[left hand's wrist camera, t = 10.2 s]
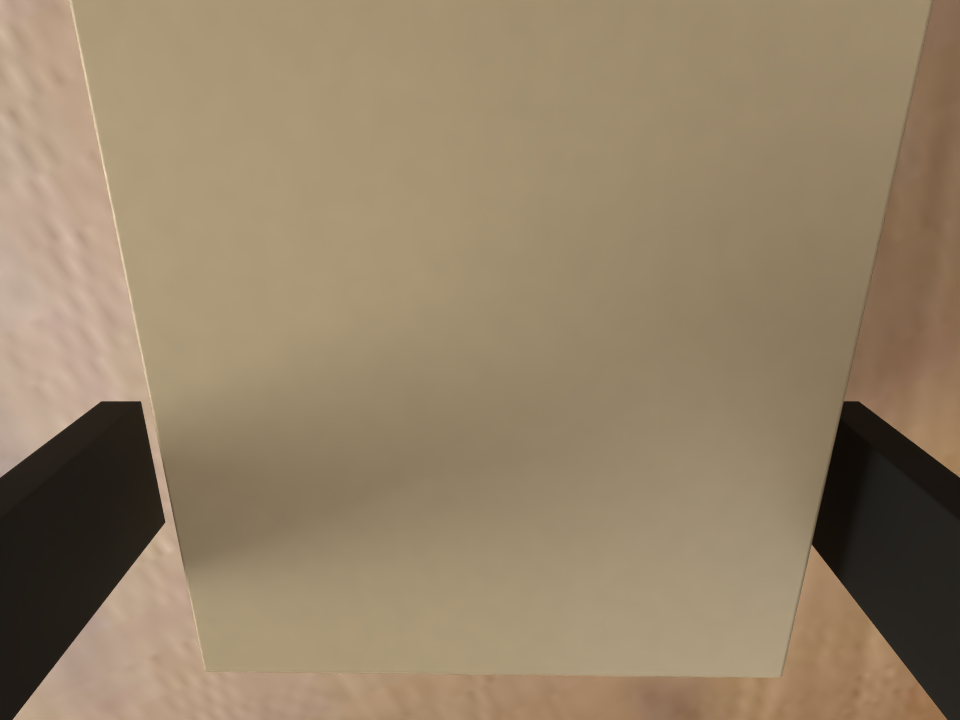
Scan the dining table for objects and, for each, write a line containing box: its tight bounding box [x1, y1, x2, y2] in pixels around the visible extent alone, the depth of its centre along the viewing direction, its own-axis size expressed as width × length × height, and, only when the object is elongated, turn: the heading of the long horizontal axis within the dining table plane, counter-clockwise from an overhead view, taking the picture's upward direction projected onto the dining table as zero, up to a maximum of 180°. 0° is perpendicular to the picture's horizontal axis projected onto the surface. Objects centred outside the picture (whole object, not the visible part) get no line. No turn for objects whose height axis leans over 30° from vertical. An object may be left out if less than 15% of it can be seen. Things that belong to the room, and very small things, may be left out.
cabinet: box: [69, 0, 934, 678], centre depth 13 cm, size 21×11×9 cm, turn 0°
